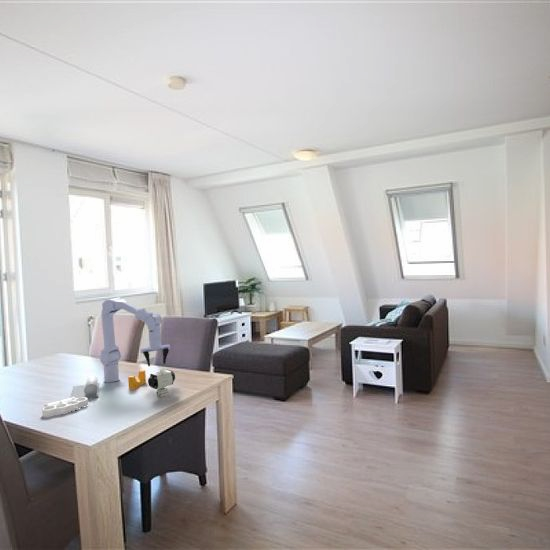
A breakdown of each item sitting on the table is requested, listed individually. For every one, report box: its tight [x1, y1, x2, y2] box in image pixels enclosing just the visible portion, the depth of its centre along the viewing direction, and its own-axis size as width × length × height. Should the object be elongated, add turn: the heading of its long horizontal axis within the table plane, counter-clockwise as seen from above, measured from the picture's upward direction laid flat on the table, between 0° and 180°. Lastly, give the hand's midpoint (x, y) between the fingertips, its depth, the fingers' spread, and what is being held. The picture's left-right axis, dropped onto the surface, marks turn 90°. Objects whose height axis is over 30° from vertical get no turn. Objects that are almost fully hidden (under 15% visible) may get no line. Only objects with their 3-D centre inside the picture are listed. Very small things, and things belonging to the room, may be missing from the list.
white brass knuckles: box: [41, 397, 89, 418], centre depth 175 cm, size 3×18×15 cm
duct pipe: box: [69, 375, 100, 400], centre depth 196 cm, size 22×12×6 cm, turn 22°
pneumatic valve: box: [147, 369, 176, 398], centre depth 187 cm, size 6×12×12 cm, turn 138°
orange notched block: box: [127, 369, 147, 391], centre depth 205 cm, size 12×4×6 cm, turn 169°
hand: (156, 364), depth 208 cm, fingers open, 7 cm apart
